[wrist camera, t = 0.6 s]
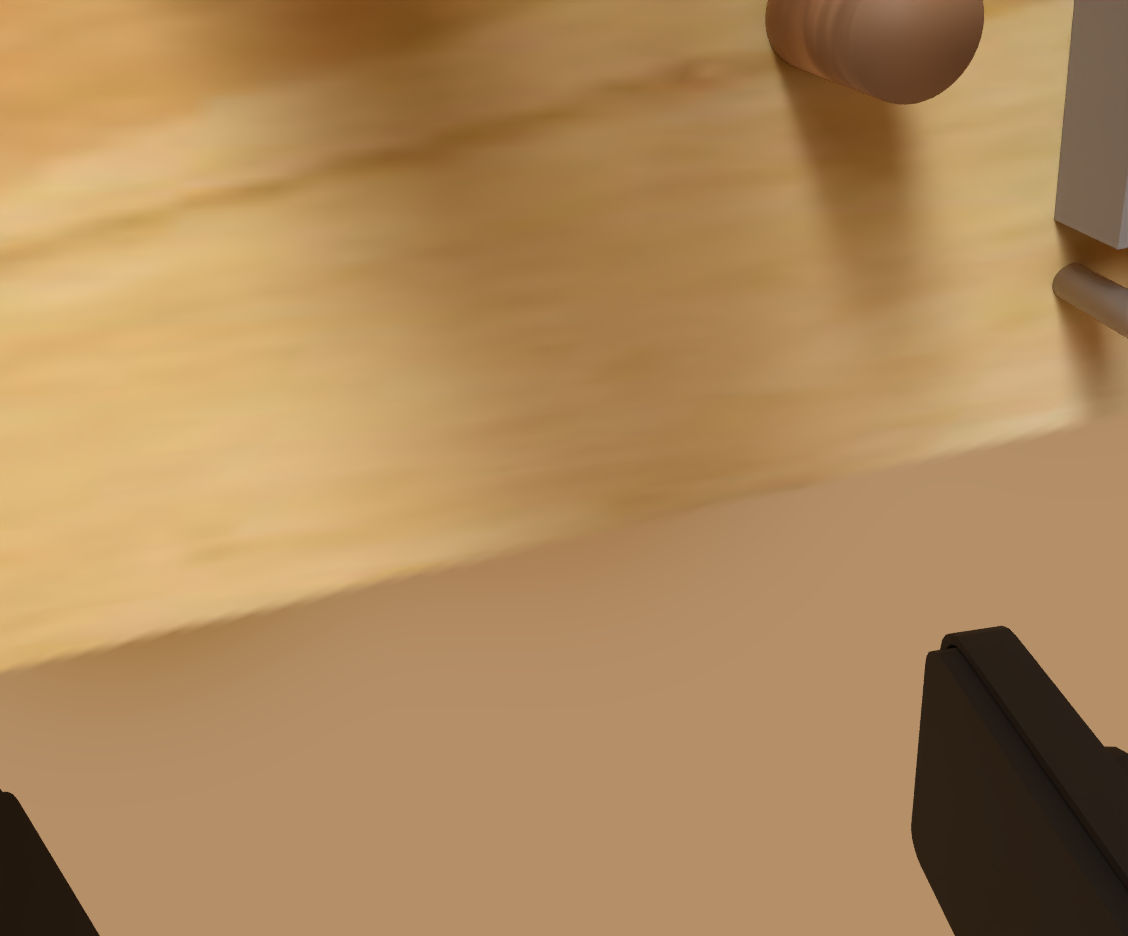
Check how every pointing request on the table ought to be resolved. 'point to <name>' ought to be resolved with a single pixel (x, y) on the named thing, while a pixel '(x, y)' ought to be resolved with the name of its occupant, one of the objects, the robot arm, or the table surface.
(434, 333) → the table surface
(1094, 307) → the pink topped stand
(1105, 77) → the socket block
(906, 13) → the walnut peg
